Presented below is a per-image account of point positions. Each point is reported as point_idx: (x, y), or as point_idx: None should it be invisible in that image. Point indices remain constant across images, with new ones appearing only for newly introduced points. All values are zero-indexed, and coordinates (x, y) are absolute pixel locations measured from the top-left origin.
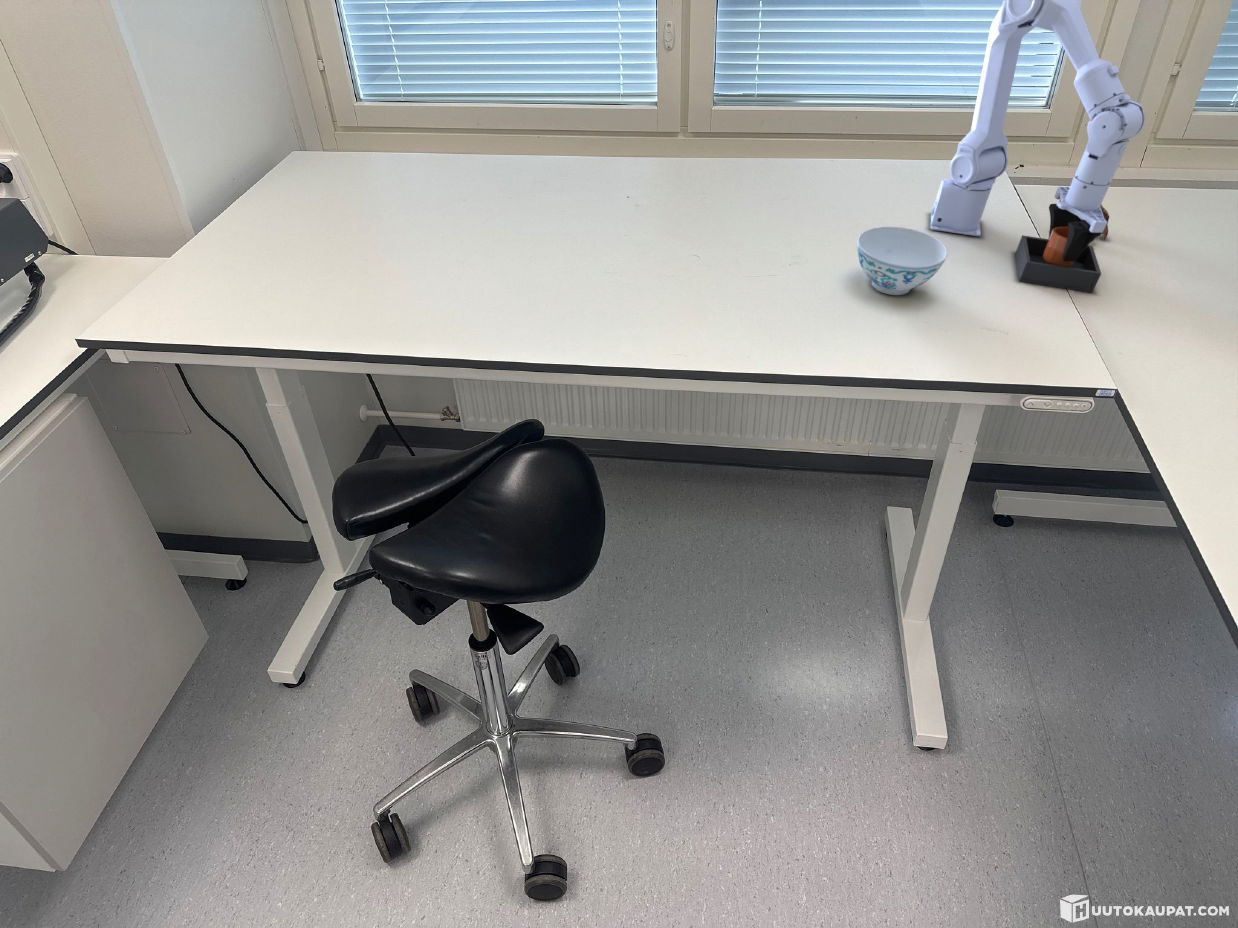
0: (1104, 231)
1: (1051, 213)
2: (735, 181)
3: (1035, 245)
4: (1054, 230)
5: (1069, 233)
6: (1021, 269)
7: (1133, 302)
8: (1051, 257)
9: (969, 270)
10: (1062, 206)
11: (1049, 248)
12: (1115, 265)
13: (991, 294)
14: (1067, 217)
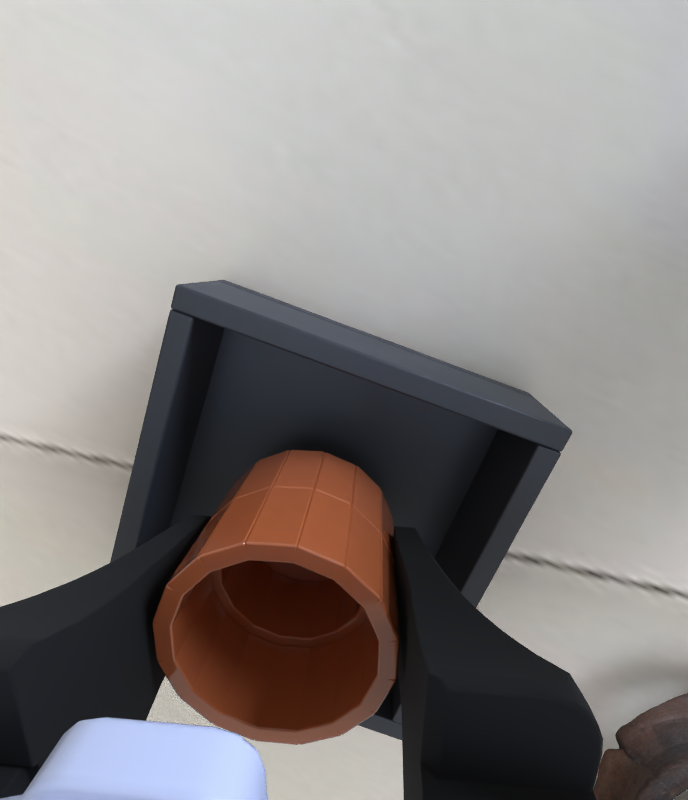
0: None
1: (484, 650)
2: None
3: (496, 487)
4: (317, 565)
5: (78, 610)
6: (258, 300)
7: None
8: (251, 472)
9: (344, 8)
10: (40, 780)
11: (278, 481)
12: (388, 754)
13: (61, 44)
14: (410, 746)
